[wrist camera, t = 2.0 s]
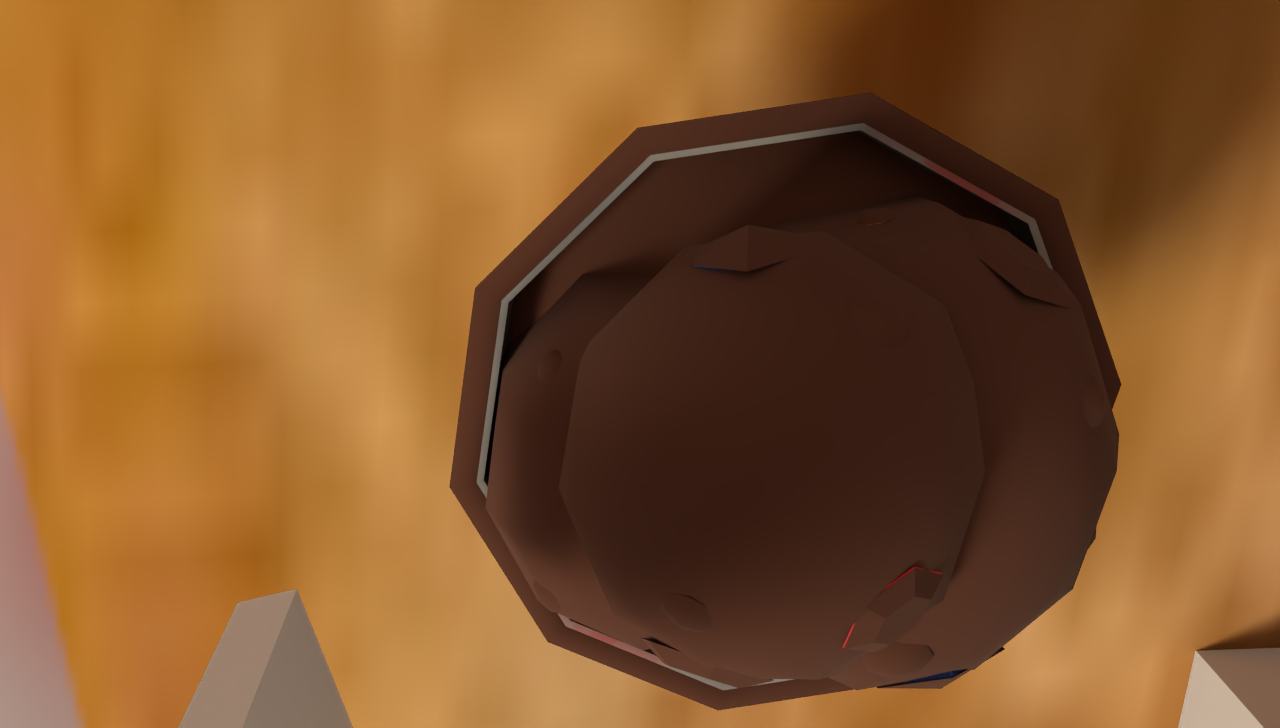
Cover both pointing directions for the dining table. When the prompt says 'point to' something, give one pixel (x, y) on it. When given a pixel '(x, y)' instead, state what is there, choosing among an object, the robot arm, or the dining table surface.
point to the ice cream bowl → (789, 407)
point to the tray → (1233, 689)
